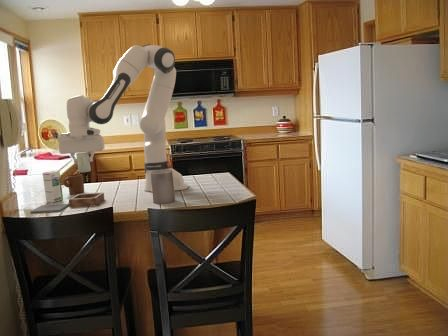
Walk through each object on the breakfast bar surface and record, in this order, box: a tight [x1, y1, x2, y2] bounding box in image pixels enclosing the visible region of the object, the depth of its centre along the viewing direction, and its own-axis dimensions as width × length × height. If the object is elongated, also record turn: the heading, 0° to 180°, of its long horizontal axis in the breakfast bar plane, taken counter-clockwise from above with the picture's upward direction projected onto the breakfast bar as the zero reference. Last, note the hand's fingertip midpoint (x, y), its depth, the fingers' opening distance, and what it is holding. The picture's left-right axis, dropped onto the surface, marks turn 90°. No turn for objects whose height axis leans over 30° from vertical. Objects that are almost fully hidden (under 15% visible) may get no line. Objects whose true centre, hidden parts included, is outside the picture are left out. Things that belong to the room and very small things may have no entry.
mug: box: [62, 173, 85, 195], centre depth 255 cm, size 12×8×9 cm, turn 153°
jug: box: [75, 152, 91, 173], centre depth 225 cm, size 7×5×8 cm
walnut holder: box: [68, 192, 105, 208], centre depth 228 cm, size 12×12×4 cm
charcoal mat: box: [29, 203, 70, 214], centre depth 221 cm, size 13×12×1 cm
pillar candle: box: [151, 169, 176, 205], centre depth 220 cm, size 10×10×15 cm
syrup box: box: [42, 170, 64, 203], centre depth 239 cm, size 6×6×14 cm
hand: (83, 162), depth 226 cm, fingers closed on jug, 5 cm apart
